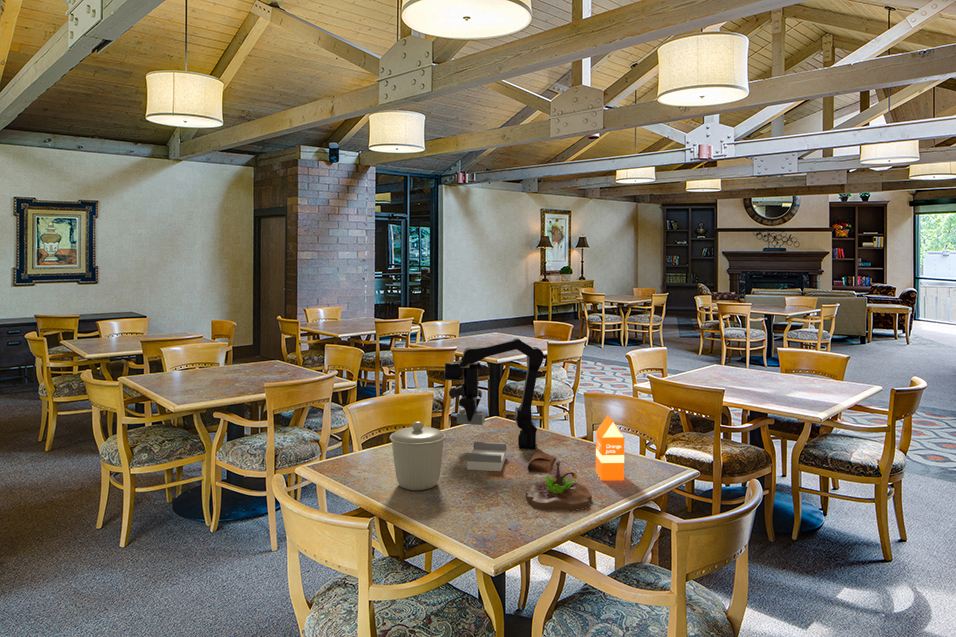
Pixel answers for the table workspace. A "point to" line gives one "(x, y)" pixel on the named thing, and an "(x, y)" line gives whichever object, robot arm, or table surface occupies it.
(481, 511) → the table surface
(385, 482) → the table surface
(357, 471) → the table surface
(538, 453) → the sunglasses case
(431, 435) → the canister
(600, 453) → the orange juice
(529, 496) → the plant
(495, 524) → the table surface
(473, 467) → the stand
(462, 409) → the grey knobbed block
